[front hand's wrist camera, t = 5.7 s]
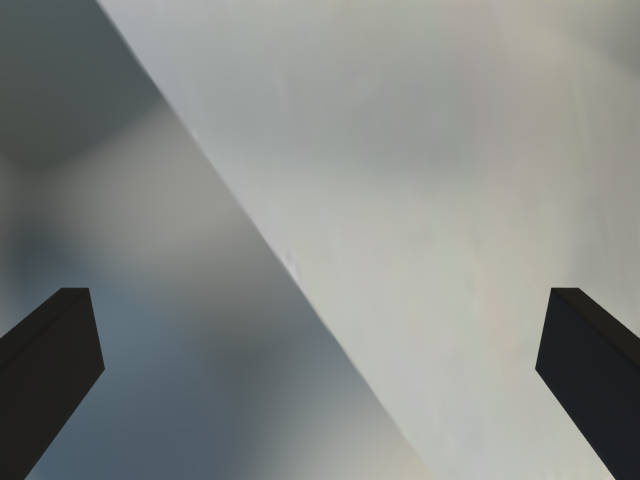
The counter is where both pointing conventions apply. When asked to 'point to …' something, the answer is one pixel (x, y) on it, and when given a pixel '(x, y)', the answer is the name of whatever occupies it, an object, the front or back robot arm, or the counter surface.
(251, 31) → the counter surface
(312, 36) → the counter surface
